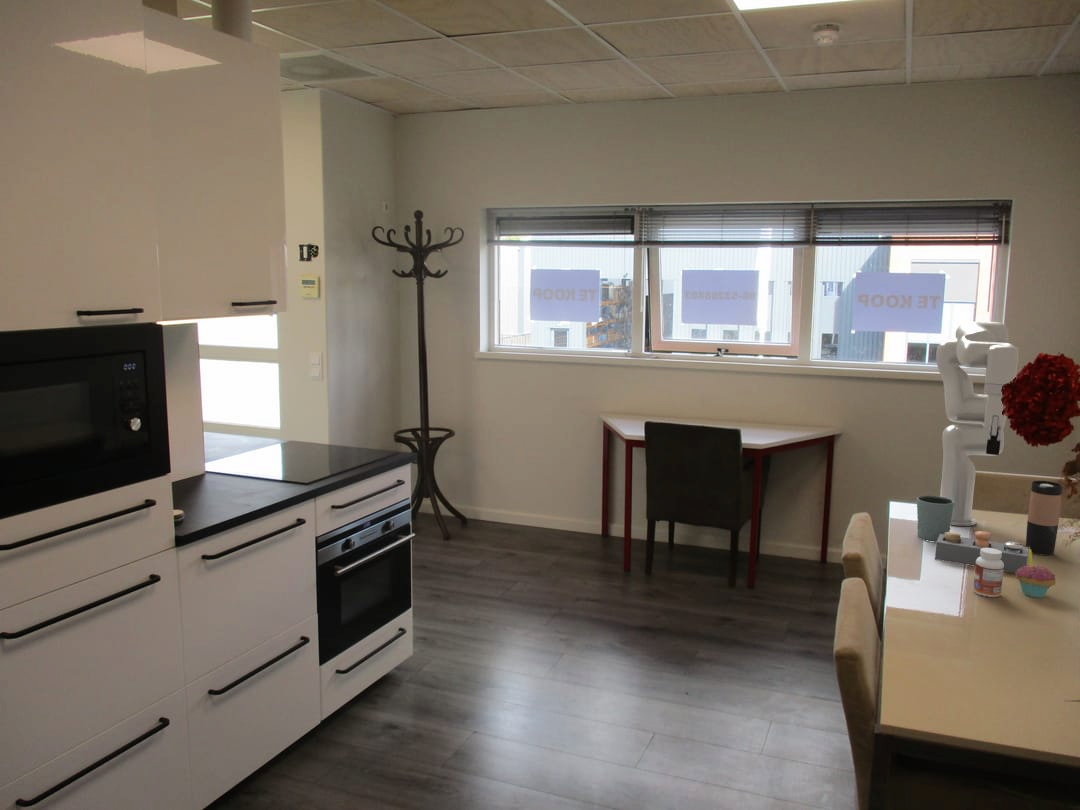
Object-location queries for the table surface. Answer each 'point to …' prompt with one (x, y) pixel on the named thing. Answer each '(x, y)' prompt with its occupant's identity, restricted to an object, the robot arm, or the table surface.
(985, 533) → the terracotta plug
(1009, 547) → the aluminium plug
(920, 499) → the green tapered cup
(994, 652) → the table surface
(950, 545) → the socket block
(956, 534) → the oak plug
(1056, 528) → the travel mug
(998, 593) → the pill bottle
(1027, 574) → the cupcake
